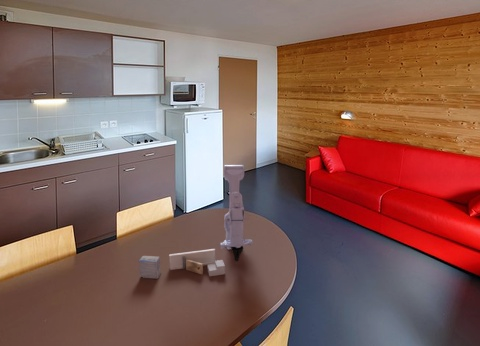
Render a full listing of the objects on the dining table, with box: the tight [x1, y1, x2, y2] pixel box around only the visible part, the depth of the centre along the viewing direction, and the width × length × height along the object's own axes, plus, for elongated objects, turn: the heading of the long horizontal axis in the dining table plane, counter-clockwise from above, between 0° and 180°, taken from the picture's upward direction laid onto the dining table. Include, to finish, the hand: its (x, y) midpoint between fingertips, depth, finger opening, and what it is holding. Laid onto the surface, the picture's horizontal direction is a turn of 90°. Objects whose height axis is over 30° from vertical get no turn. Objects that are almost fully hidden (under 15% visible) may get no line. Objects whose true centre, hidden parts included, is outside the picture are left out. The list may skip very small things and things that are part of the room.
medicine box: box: [138, 255, 162, 280], centre depth 135 cm, size 8×4×9 cm, turn 84°
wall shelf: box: [168, 248, 216, 271], centre depth 142 cm, size 3×21×7 cm, turn 105°
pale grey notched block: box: [206, 259, 226, 277], centre depth 138 cm, size 5×7×4 cm
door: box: [185, 259, 204, 275], centre depth 138 cm, size 8×2×5 cm, turn 66°
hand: (236, 260), depth 140 cm, fingers closed
